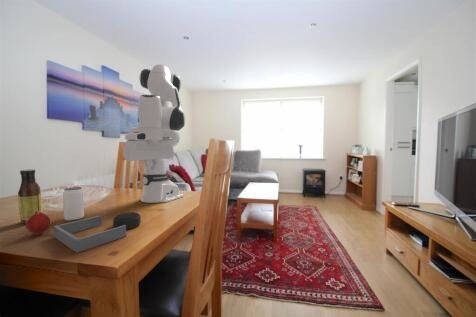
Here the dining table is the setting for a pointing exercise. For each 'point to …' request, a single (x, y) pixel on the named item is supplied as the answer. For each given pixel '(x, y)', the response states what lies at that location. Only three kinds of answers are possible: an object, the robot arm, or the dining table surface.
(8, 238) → the dining table surface
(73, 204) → the can
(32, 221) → the onion
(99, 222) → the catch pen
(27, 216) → the sauce bottle
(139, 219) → the smart speaker
